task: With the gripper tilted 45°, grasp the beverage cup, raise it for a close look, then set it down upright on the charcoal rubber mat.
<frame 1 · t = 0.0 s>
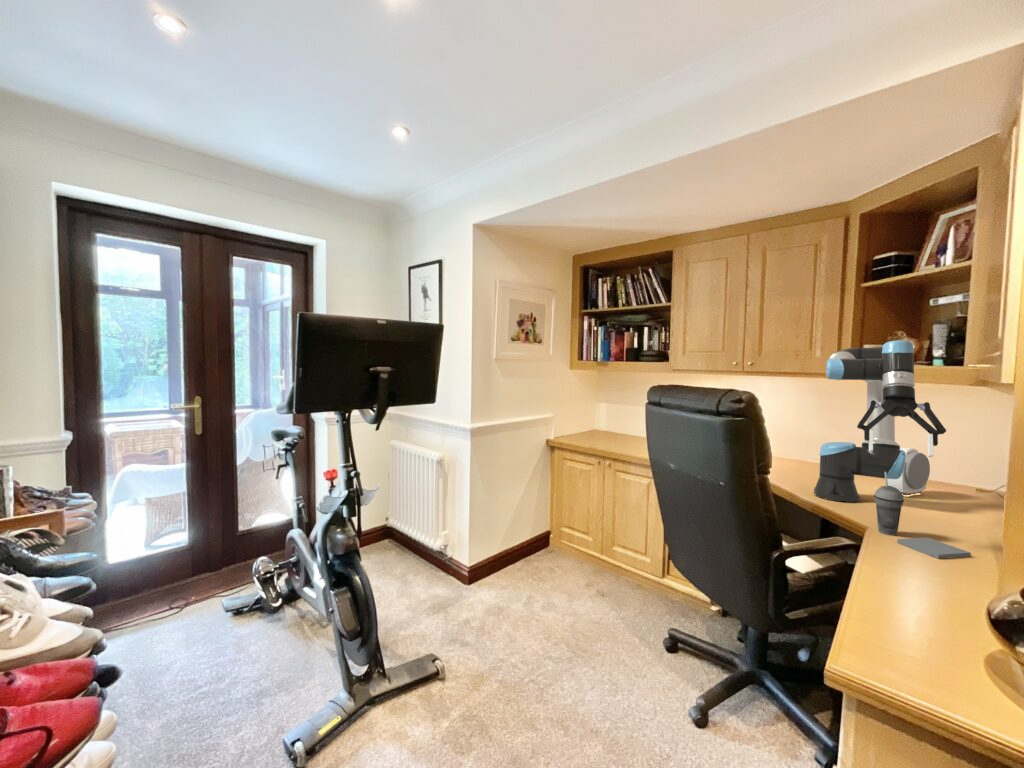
hand: (899, 453, 128), 28 cm above the table, tool tilted 20°, fingers open, 13 cm apart
charcoal rubber mat: (932, 549, 124), on the table
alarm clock: (906, 494, 181), on the table
beverage cup: (887, 533, 137), on the table
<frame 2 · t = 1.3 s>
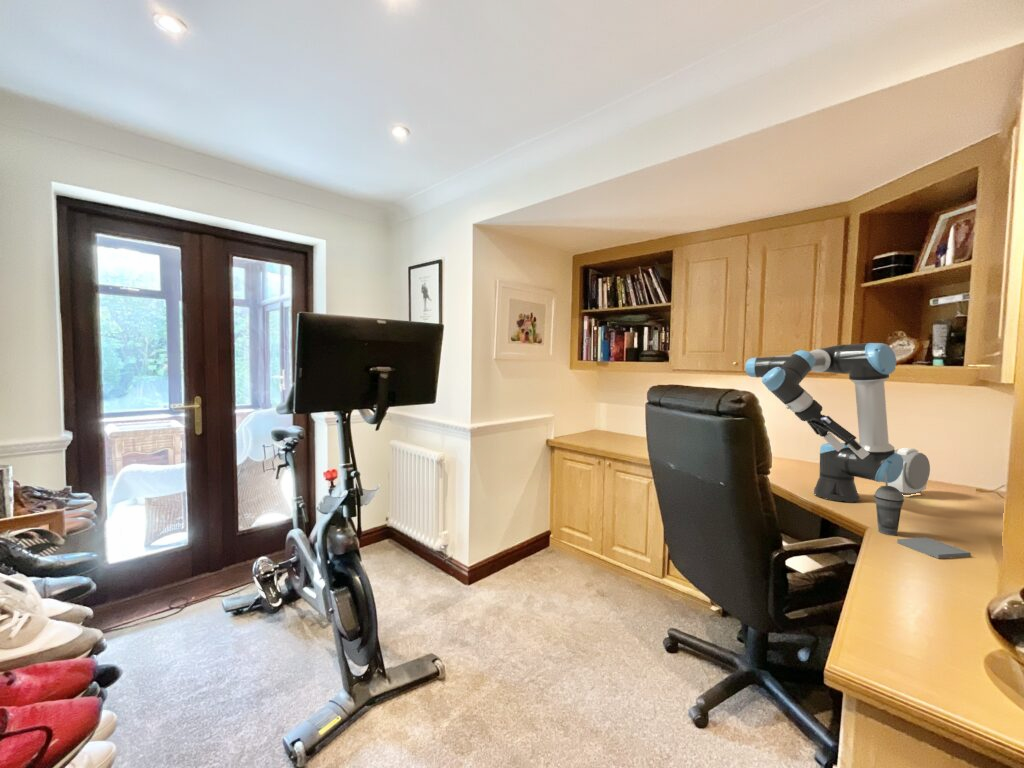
hand: (852, 452, 138), 26 cm above the table, tool tilted 45°, fingers open, 13 cm apart
nothing on the table moved.
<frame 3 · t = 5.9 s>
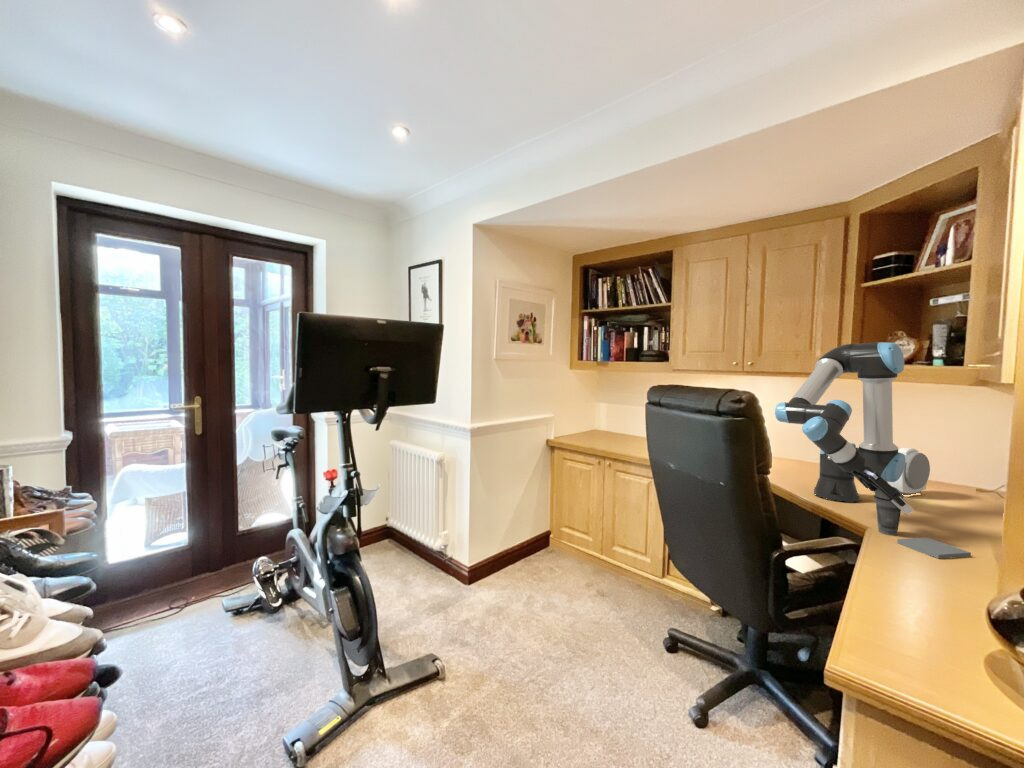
hand: (900, 508, 136), 9 cm above the table, tool tilted 45°, fingers closed on beverage cup, 7 cm apart
beverage cup: (887, 533, 137), on the table, touching gripper
everything else where it was.
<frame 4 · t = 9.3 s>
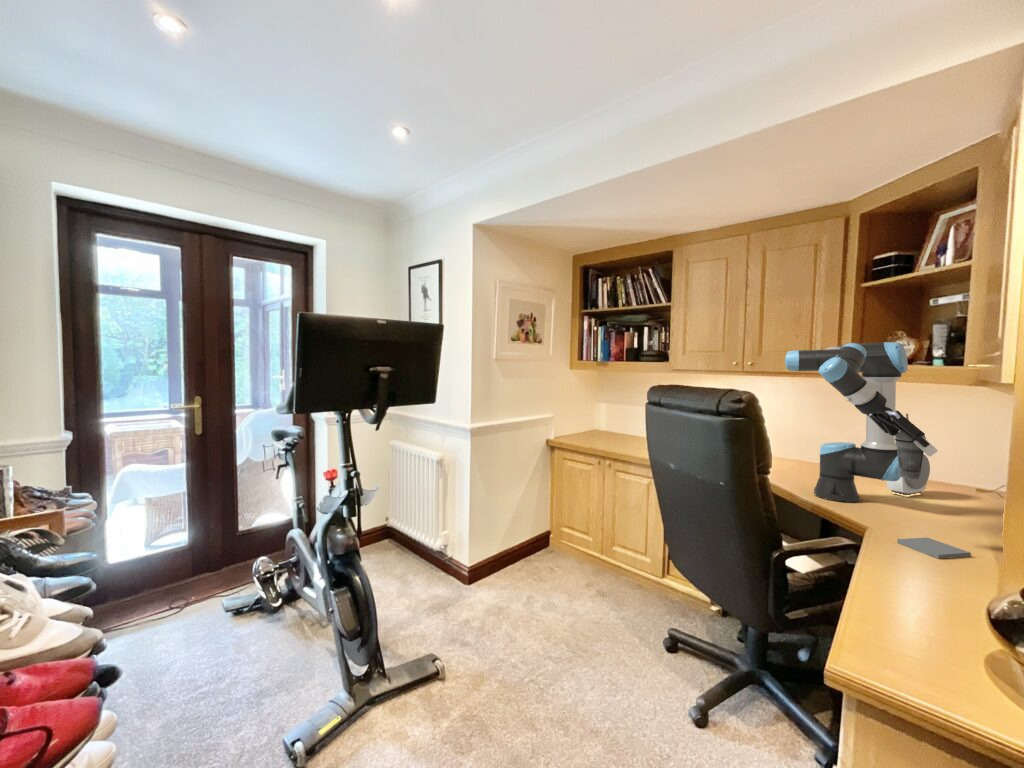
hand: (923, 450, 129), 28 cm above the table, tool tilted 45°, fingers closed on beverage cup, 7 cm apart
beverage cup: (909, 478, 130), point 20 cm above the table, touching gripper
everything else where it was.
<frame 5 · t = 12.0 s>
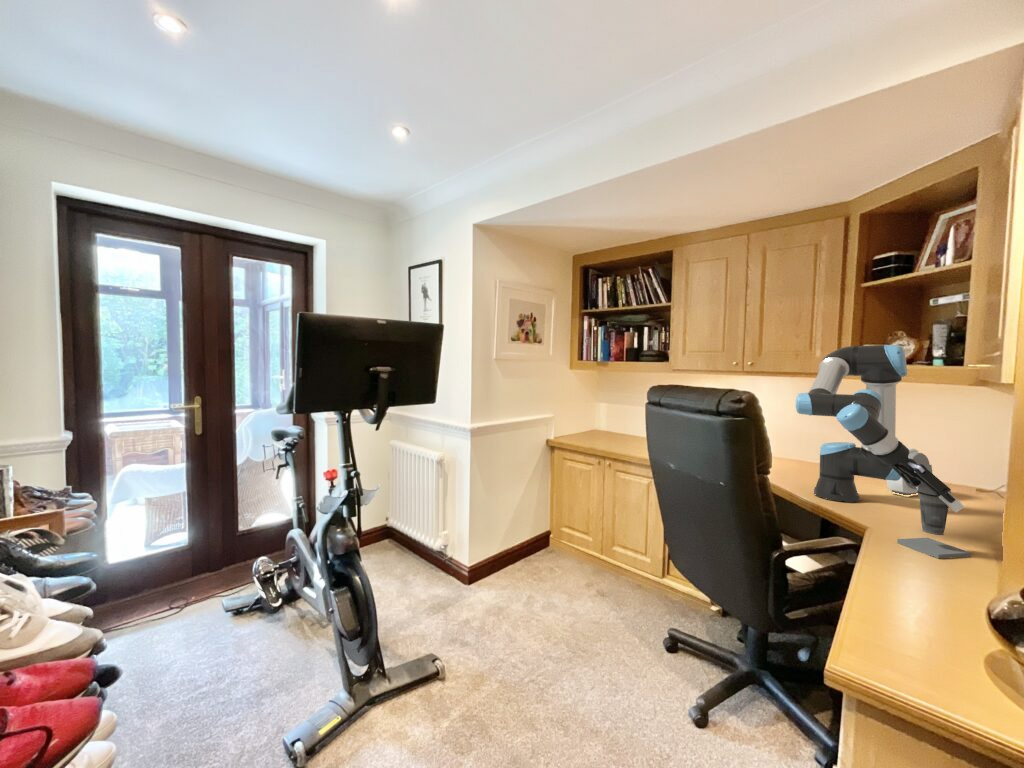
hand: (948, 504, 123), 14 cm above the table, tool tilted 45°, fingers closed on beverage cup, 7 cm apart
beverage cup: (932, 532, 124), point 5 cm above the table, touching gripper
everything else where it was.
when the fingers open (11 cm above the table, at t = 13.1 s): beverage cup drops 1 cm, resting on charcoal rubber mat.
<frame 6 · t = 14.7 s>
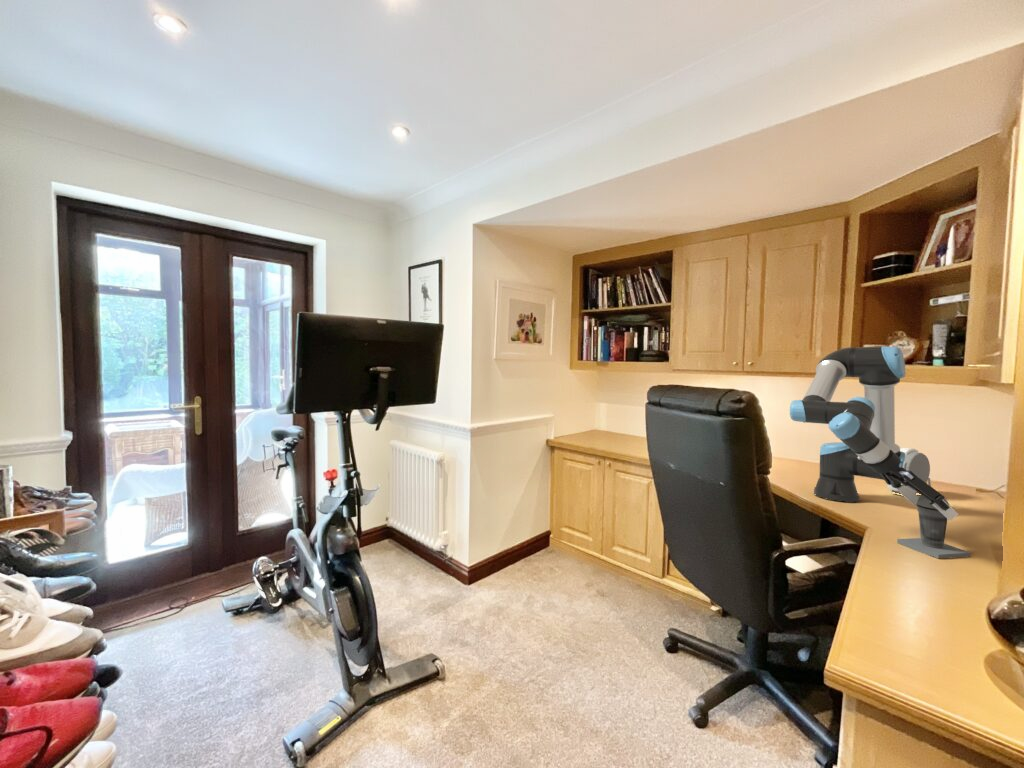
hand: (934, 509, 124), 12 cm above the table, tool tilted 45°, fingers open, 13 cm apart
beverage cup: (932, 546, 124), point 1 cm above the table, touching charcoal rubber mat
everything else where it was.
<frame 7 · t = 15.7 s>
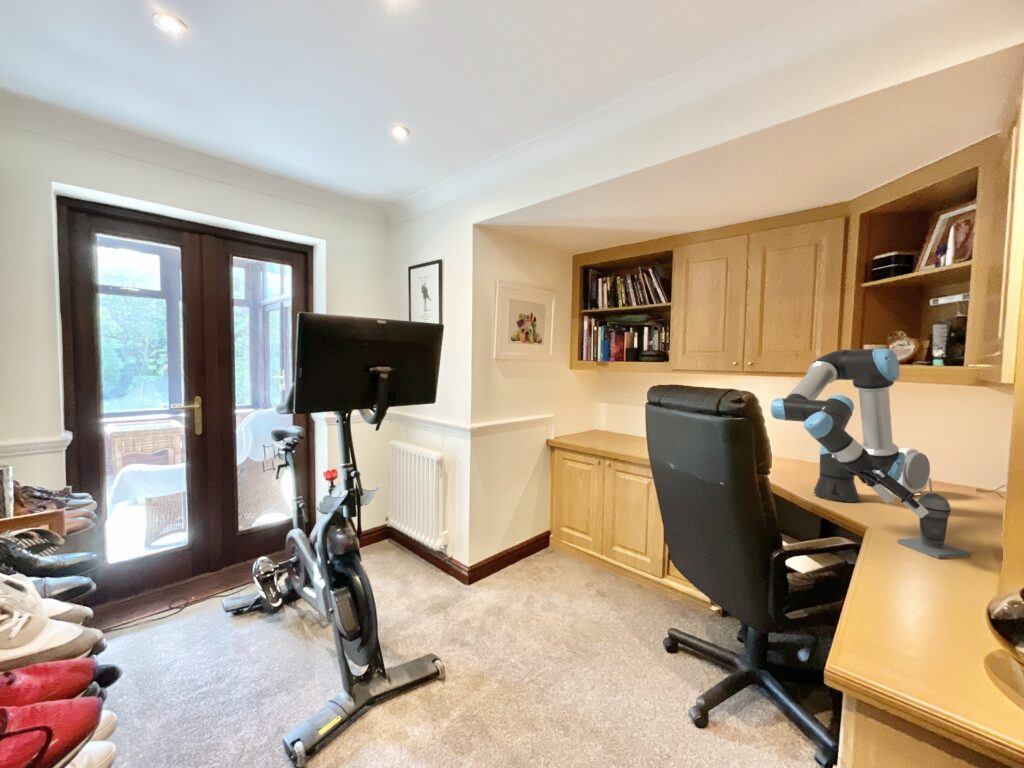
hand: (906, 507, 125), 12 cm above the table, tool tilted 45°, fingers open, 13 cm apart
nothing on the table moved.
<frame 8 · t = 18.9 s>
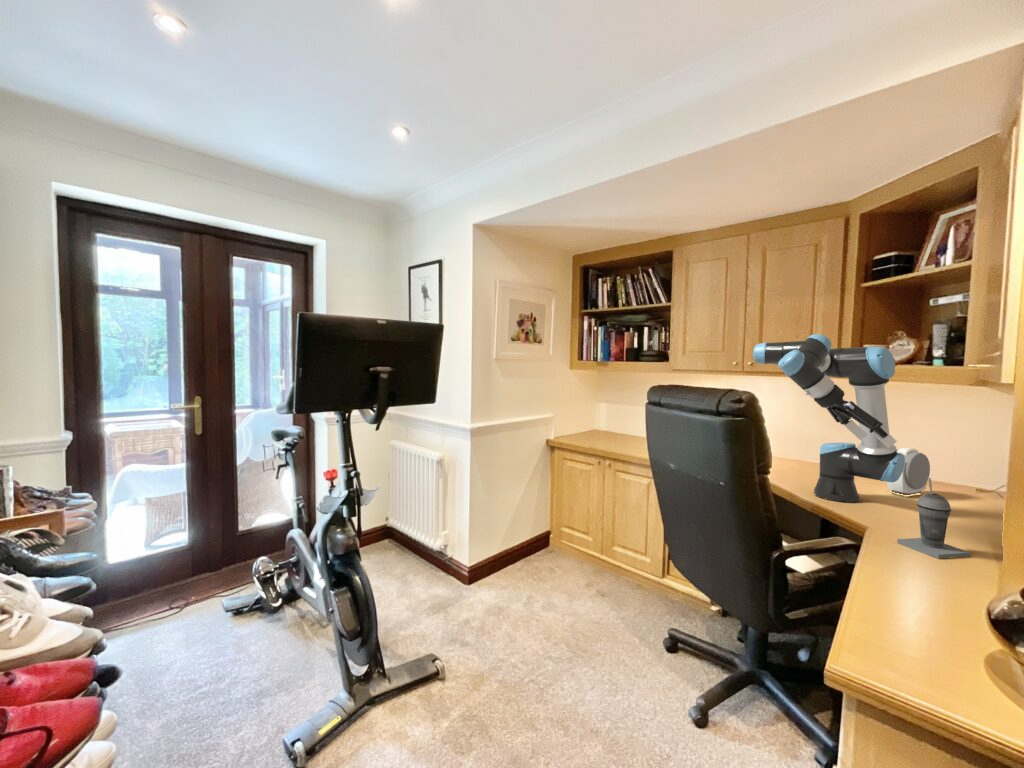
hand: (877, 440, 129), 32 cm above the table, tool tilted 45°, fingers open, 13 cm apart
nothing on the table moved.
at the end: beverage cup inside the target area on the charcoal rubber mat (0.1 cm from its centre), point 1.0 cm above the charcoal rubber mat's base; beverage cup tilted 0°; the gripper is holding nothing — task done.
